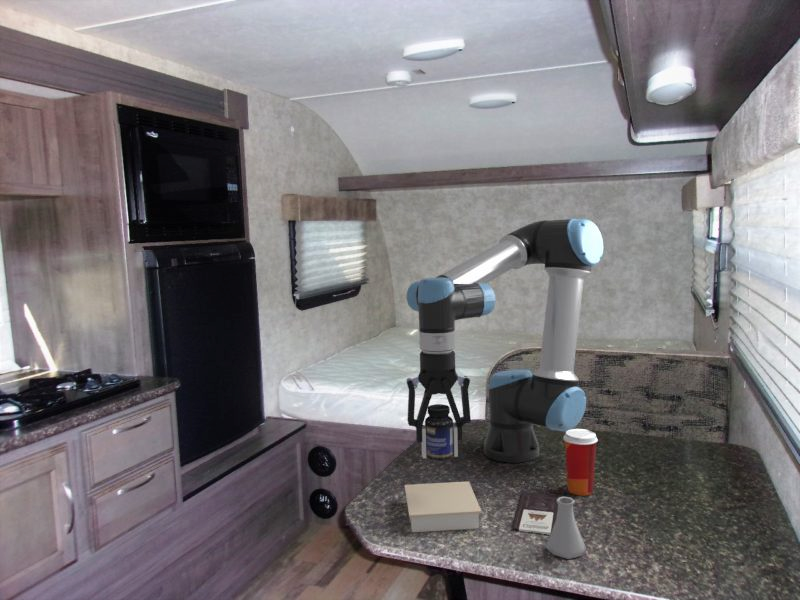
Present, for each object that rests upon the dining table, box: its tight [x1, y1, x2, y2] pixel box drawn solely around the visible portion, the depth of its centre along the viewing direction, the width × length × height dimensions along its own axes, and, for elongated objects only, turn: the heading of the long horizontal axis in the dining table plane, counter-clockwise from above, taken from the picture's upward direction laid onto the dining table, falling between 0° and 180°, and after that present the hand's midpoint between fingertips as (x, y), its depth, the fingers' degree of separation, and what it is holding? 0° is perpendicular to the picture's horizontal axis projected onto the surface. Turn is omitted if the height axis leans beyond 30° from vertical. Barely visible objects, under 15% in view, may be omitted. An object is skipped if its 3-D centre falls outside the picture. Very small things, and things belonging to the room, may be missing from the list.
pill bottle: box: [424, 403, 454, 462], centre depth 128 cm, size 6×6×11 cm
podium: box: [404, 481, 482, 533], centre depth 130 cm, size 15×15×4 cm
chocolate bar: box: [512, 491, 563, 536], centre depth 130 cm, size 9×1×18 cm
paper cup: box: [563, 428, 599, 497], centre depth 139 cm, size 8×8×14 cm
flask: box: [545, 496, 587, 560], centre depth 114 cm, size 7×7×10 cm
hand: (439, 455), depth 129 cm, fingers closed on pill bottle, 6 cm apart
